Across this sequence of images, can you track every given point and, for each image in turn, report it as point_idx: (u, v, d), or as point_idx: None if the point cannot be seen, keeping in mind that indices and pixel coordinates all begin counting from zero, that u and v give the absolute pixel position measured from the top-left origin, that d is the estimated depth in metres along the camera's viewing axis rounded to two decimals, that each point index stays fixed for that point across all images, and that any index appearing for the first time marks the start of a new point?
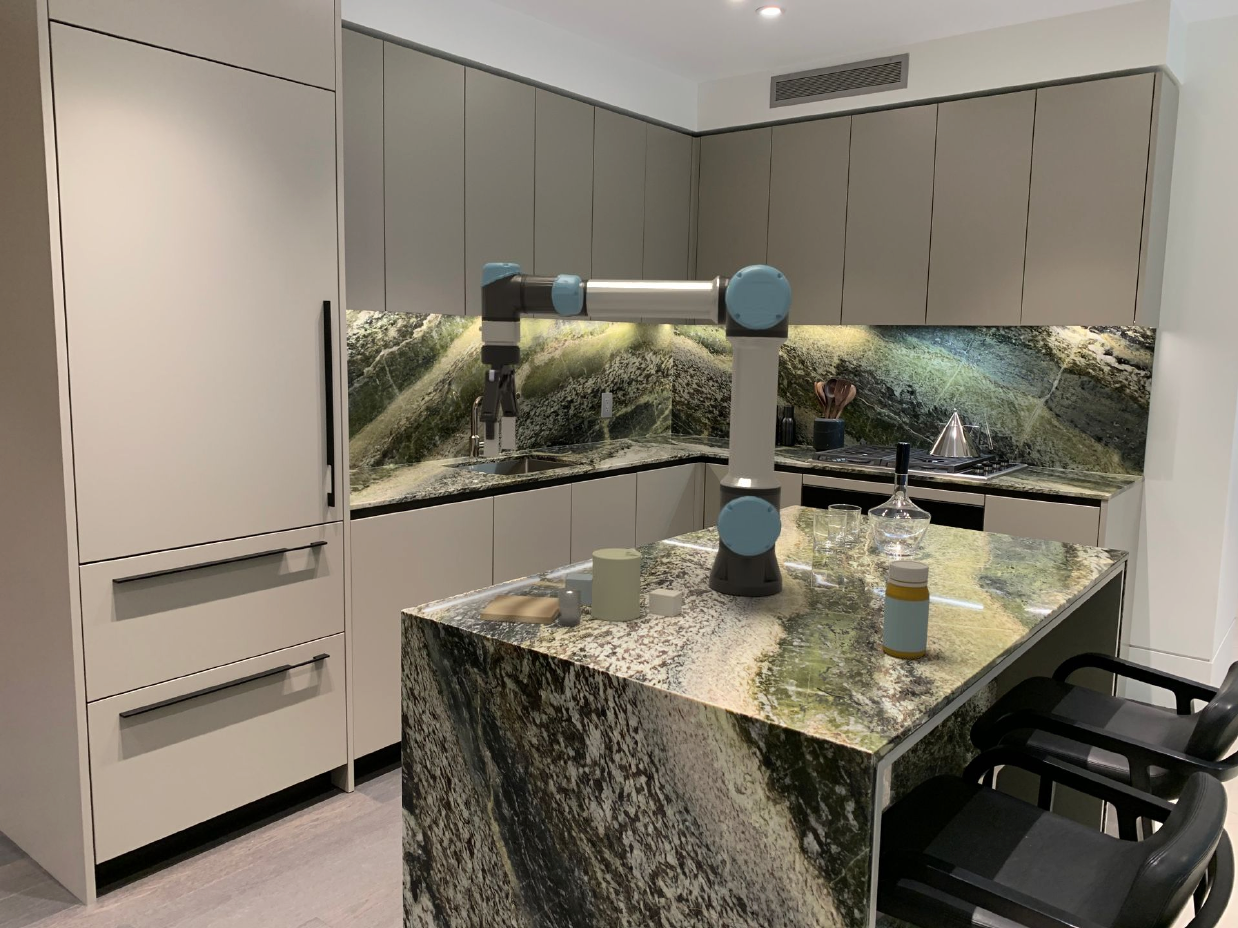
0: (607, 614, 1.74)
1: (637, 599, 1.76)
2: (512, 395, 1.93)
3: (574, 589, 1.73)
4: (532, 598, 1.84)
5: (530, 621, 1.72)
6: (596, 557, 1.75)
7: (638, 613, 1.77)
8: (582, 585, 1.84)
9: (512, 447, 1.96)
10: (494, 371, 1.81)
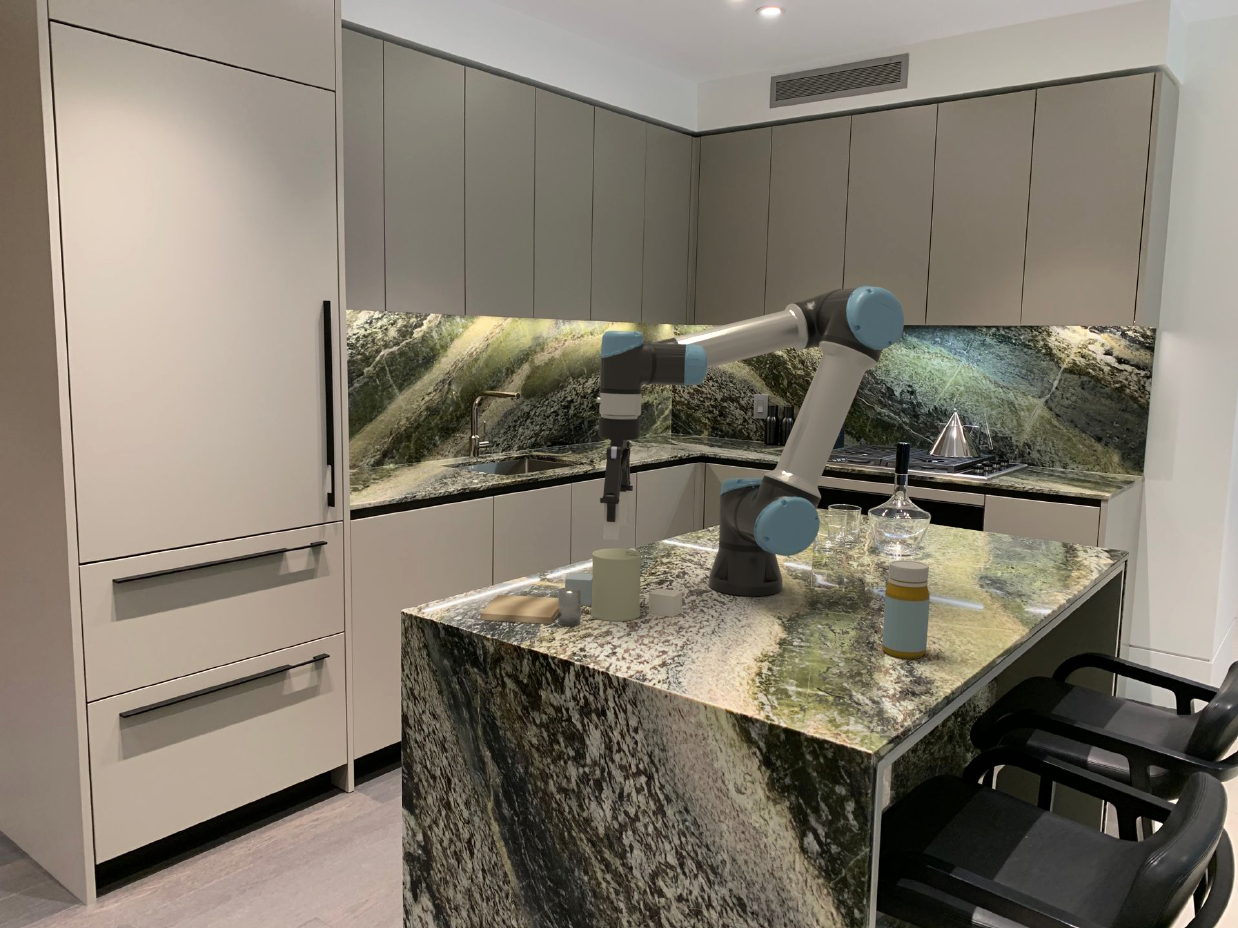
0: (607, 614, 1.74)
1: (637, 599, 1.76)
2: (627, 469, 1.80)
3: (574, 589, 1.73)
4: (532, 598, 1.84)
5: (530, 621, 1.72)
6: (596, 557, 1.75)
7: (638, 613, 1.77)
8: (582, 585, 1.84)
9: (625, 524, 1.83)
10: (616, 448, 1.68)
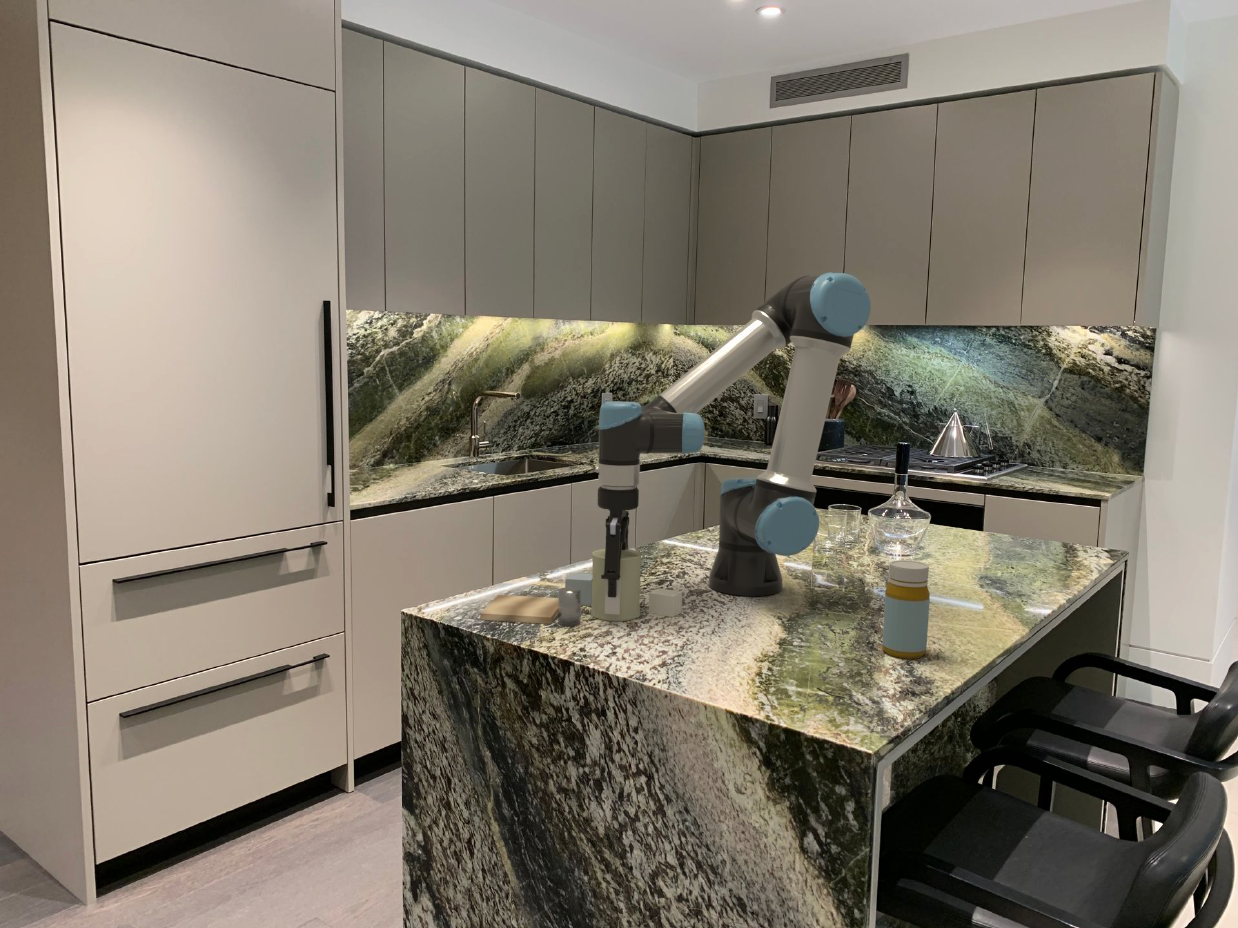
0: (607, 614, 1.74)
1: (637, 599, 1.76)
2: None
3: (574, 589, 1.73)
4: (532, 598, 1.84)
5: (530, 621, 1.72)
6: (596, 557, 1.75)
7: (638, 613, 1.77)
8: (582, 585, 1.84)
9: None
10: (615, 525, 1.70)
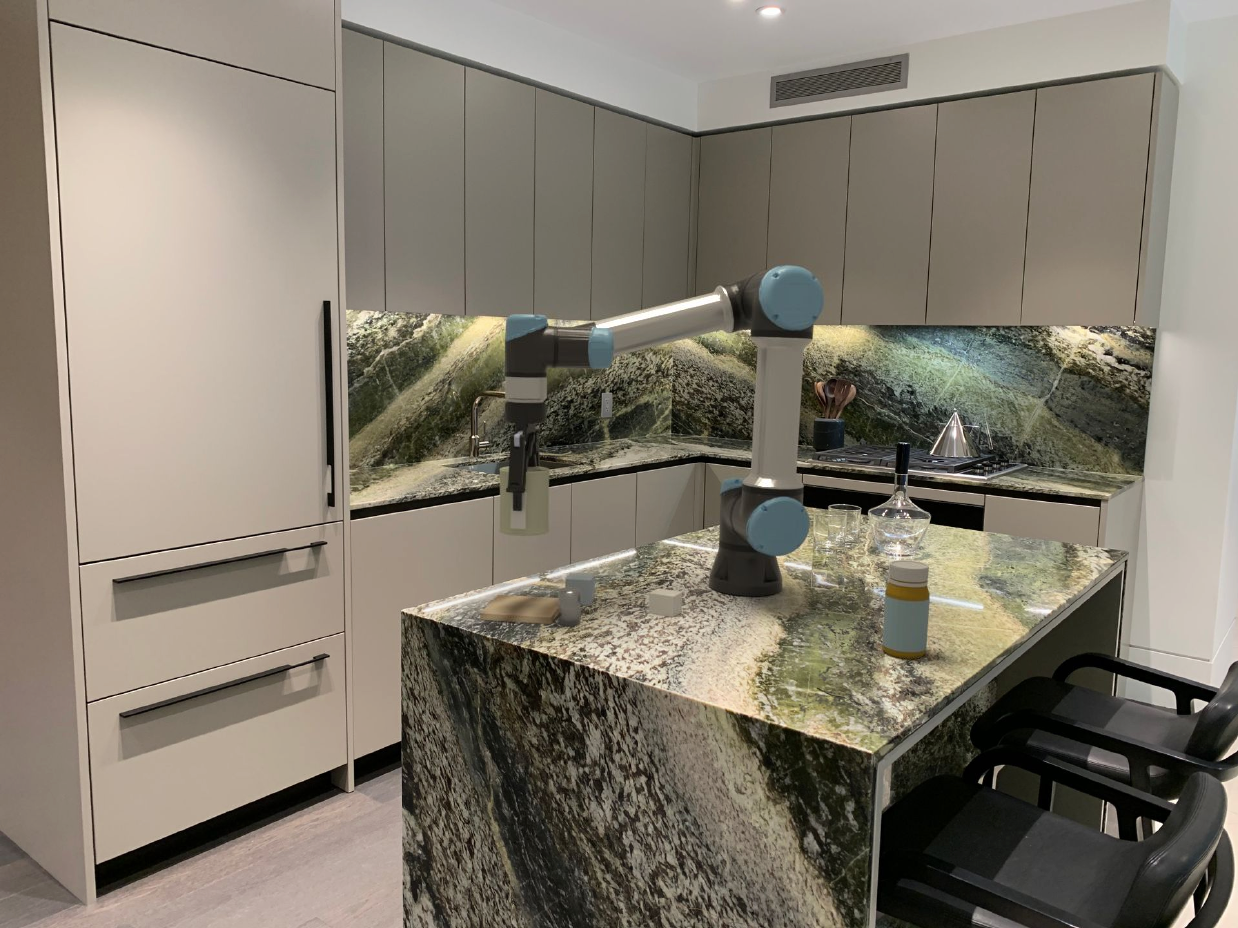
0: (513, 529, 1.73)
1: (544, 515, 1.75)
2: (536, 458, 1.79)
3: (574, 589, 1.73)
4: (532, 598, 1.84)
5: (530, 621, 1.72)
6: (502, 471, 1.73)
7: (546, 529, 1.75)
8: (582, 585, 1.84)
9: None
10: (519, 436, 1.68)
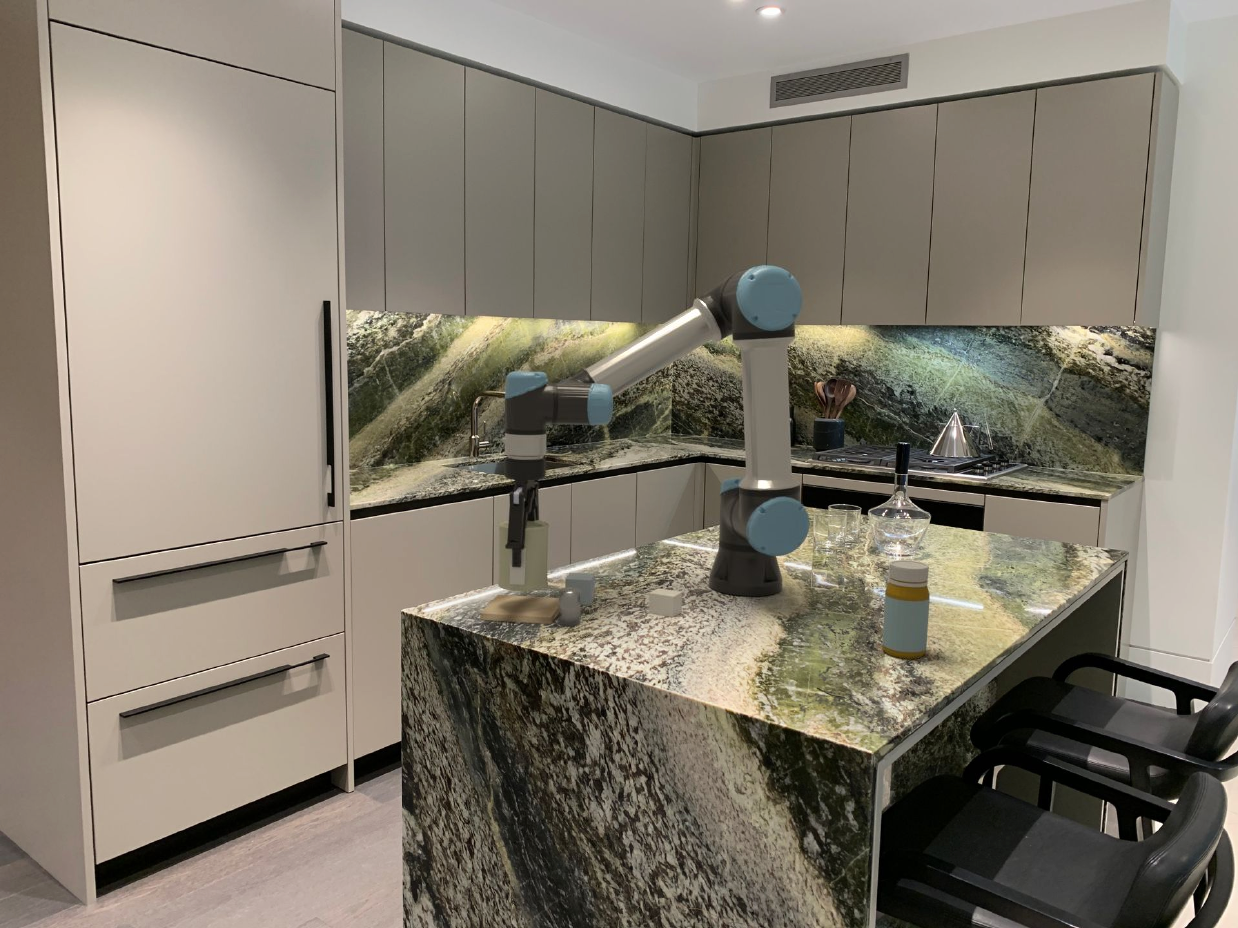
0: (512, 585, 1.74)
1: (543, 569, 1.76)
2: (535, 512, 1.80)
3: (574, 589, 1.73)
4: (532, 598, 1.84)
5: (530, 621, 1.72)
6: (502, 527, 1.74)
7: (545, 584, 1.77)
8: (582, 585, 1.84)
9: None
10: (519, 494, 1.69)
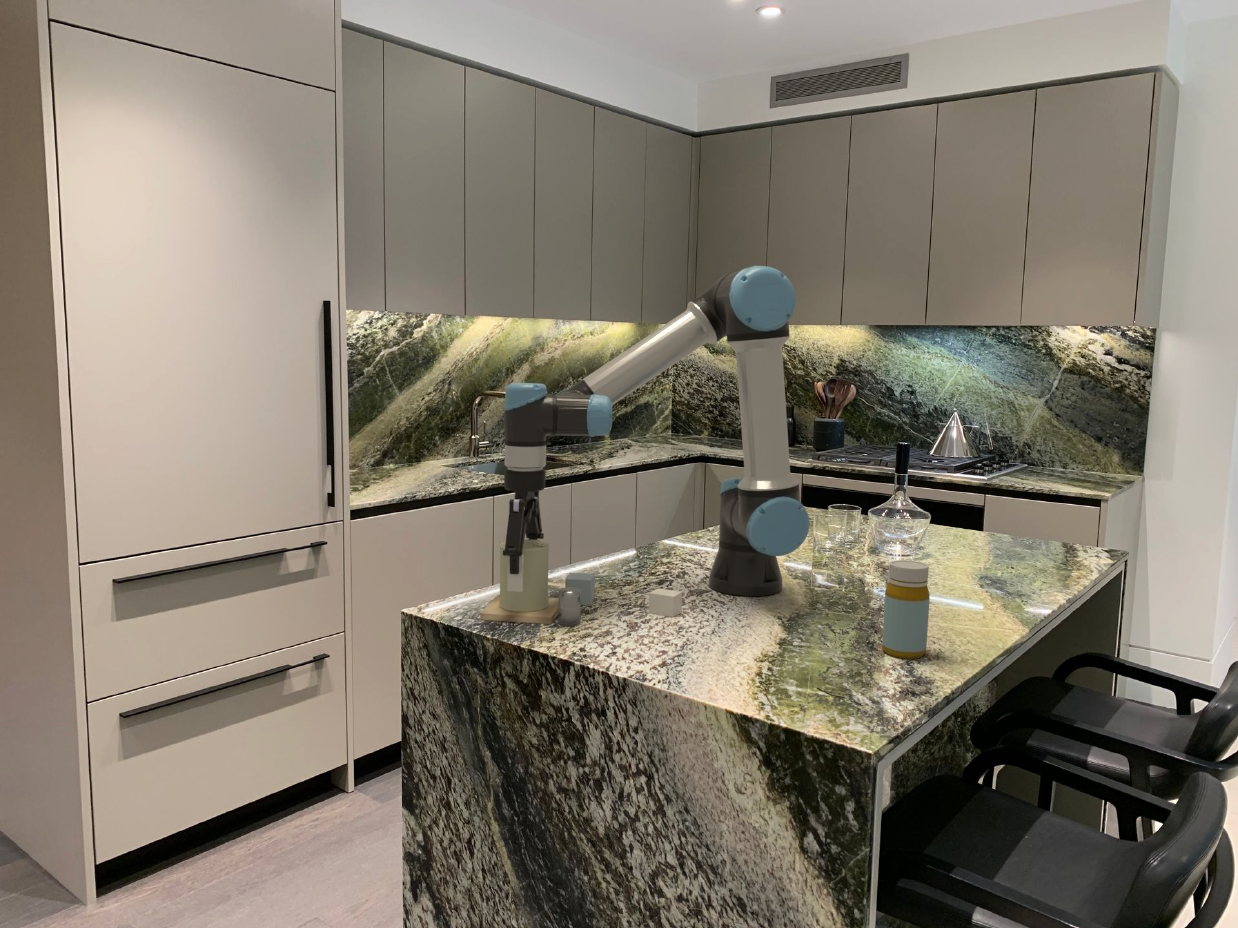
0: (513, 605, 1.75)
1: (544, 590, 1.77)
2: (536, 518, 1.82)
3: (574, 589, 1.73)
4: None
5: (530, 621, 1.72)
6: (502, 548, 1.75)
7: (545, 604, 1.77)
8: (582, 585, 1.84)
9: None
10: (519, 501, 1.70)
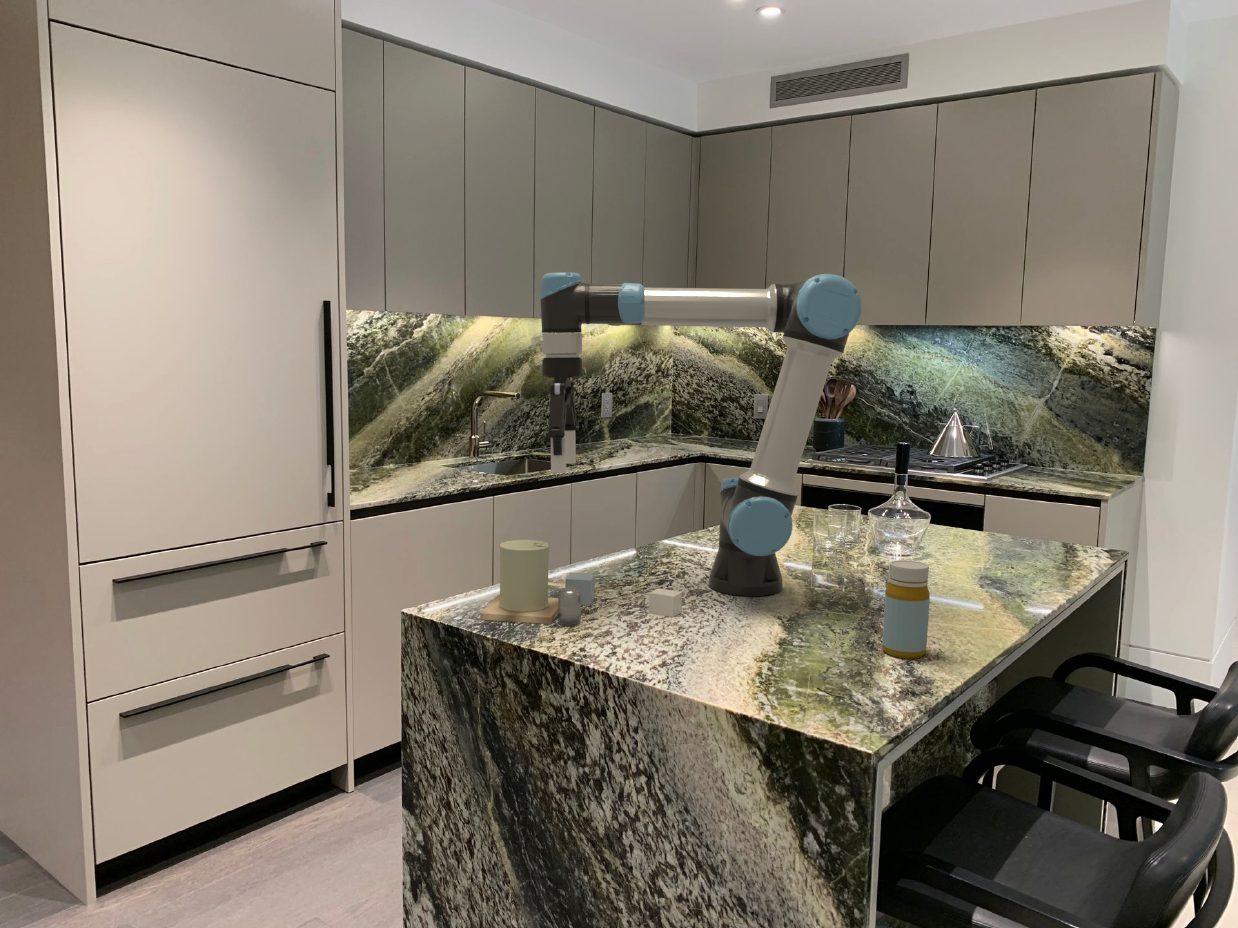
0: (513, 605, 1.75)
1: (544, 590, 1.77)
2: (572, 408, 1.88)
3: (574, 589, 1.73)
4: None
5: (530, 621, 1.72)
6: (502, 548, 1.75)
7: (545, 604, 1.77)
8: (582, 585, 1.84)
9: (573, 461, 1.90)
10: (560, 384, 1.76)
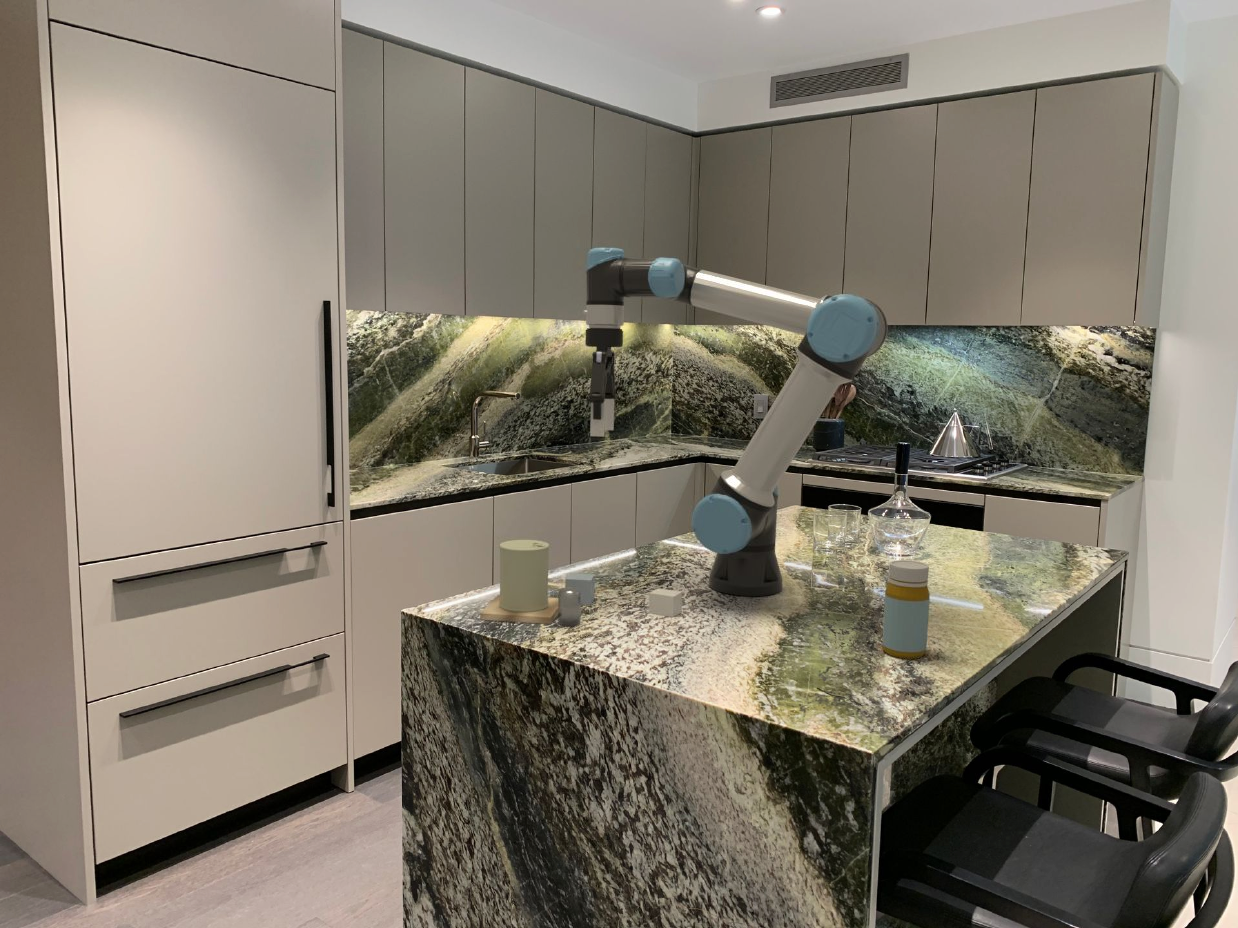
0: (513, 605, 1.75)
1: (544, 590, 1.77)
2: (612, 377, 1.99)
3: (574, 589, 1.73)
4: None
5: (530, 621, 1.72)
6: (502, 548, 1.75)
7: (545, 604, 1.77)
8: (582, 585, 1.84)
9: (611, 428, 2.01)
10: (601, 353, 1.86)
